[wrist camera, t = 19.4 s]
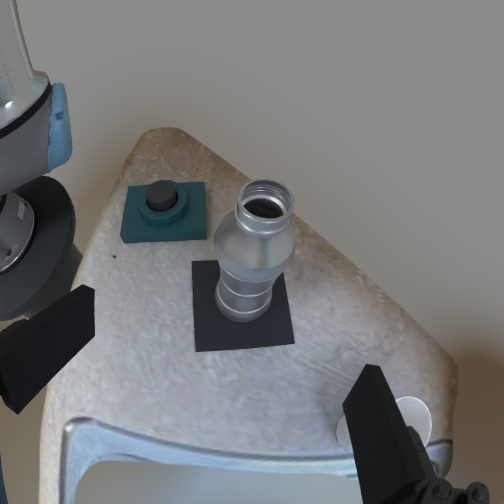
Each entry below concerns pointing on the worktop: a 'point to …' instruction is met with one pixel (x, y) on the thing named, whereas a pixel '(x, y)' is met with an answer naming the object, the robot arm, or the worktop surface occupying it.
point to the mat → (230, 332)
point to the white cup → (412, 414)
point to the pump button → (161, 195)
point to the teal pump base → (165, 215)
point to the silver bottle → (253, 249)
